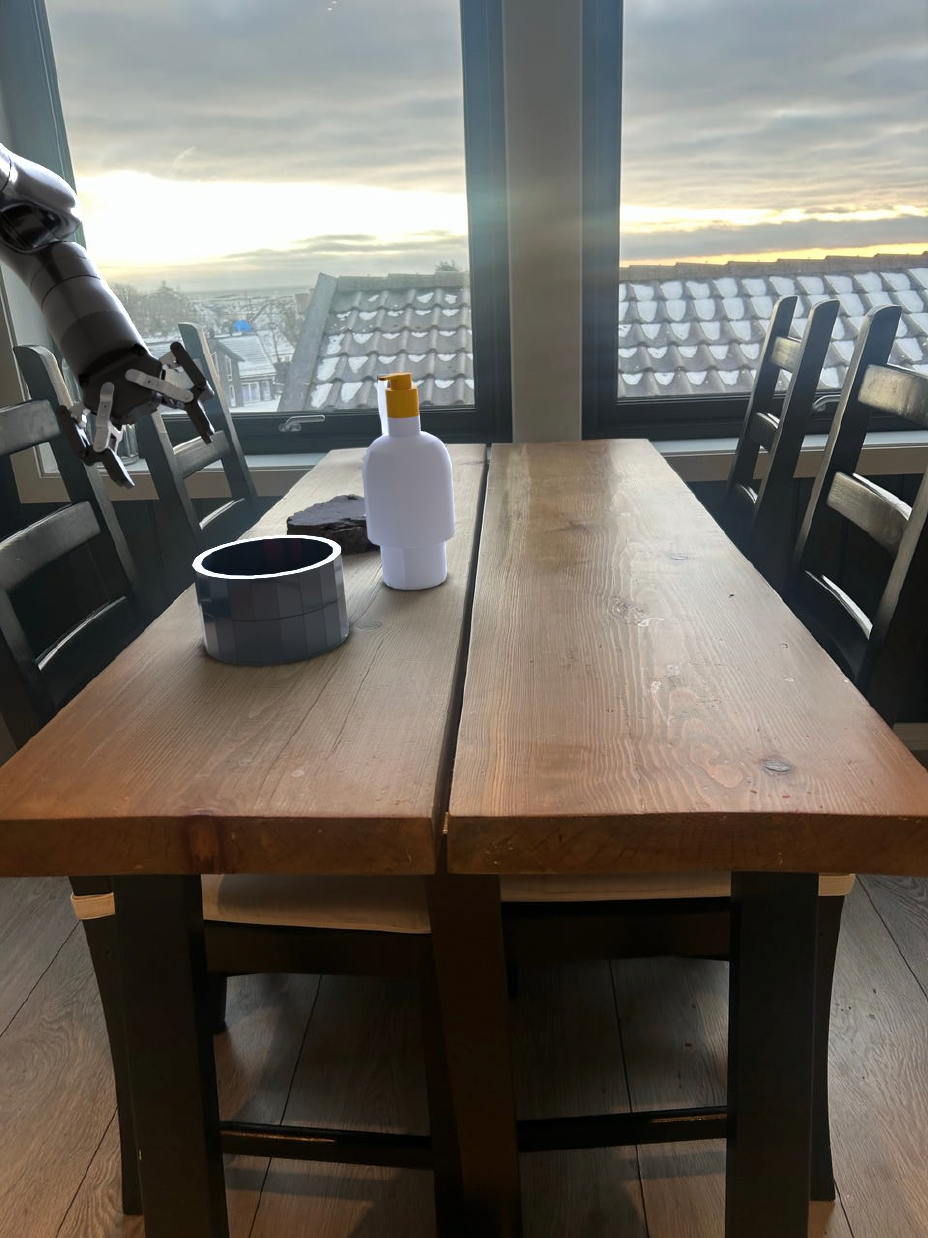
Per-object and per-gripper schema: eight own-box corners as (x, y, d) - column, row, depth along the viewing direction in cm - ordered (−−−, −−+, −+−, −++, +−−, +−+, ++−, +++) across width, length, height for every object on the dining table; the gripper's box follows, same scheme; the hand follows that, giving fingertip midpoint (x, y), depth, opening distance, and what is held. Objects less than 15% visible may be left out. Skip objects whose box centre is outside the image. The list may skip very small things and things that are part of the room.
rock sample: (297, 565, 127) (293, 527, 125) (278, 535, 141) (274, 501, 139) (428, 546, 132) (426, 510, 130) (397, 519, 146) (394, 486, 144)
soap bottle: (354, 587, 118) (334, 378, 109) (410, 564, 125) (395, 366, 117) (421, 601, 112) (405, 381, 103) (476, 576, 119) (465, 369, 111)
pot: (288, 676, 94) (277, 585, 91) (175, 653, 101) (161, 568, 98) (376, 624, 106) (369, 542, 102) (269, 607, 113) (259, 530, 109)
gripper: (13, 351, 95) (85, 484, 91) (145, 278, 96) (222, 406, 92) (49, 390, 102) (117, 515, 98) (172, 321, 103) (244, 442, 99)
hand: (168, 462), depth 95 cm, fingers open, 8 cm apart
